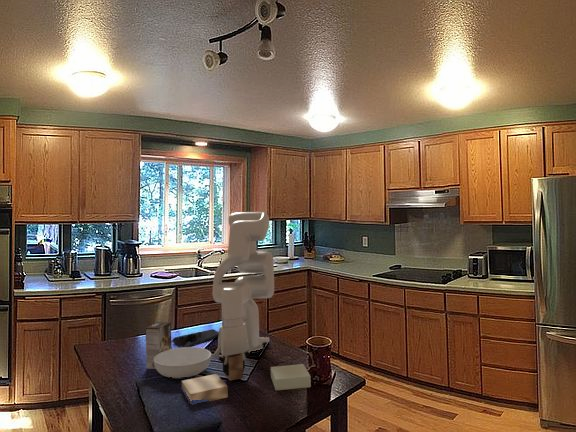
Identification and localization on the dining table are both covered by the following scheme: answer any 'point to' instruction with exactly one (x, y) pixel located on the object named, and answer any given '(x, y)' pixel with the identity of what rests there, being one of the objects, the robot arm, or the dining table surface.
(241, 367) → the walnut block
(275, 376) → the sage riser block
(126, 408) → the dining table surface
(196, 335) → the dark slate chunk
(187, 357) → the serving bowl
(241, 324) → the robot arm
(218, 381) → the maple riser block
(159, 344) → the coffee box
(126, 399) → the dining table surface
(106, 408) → the dining table surface
